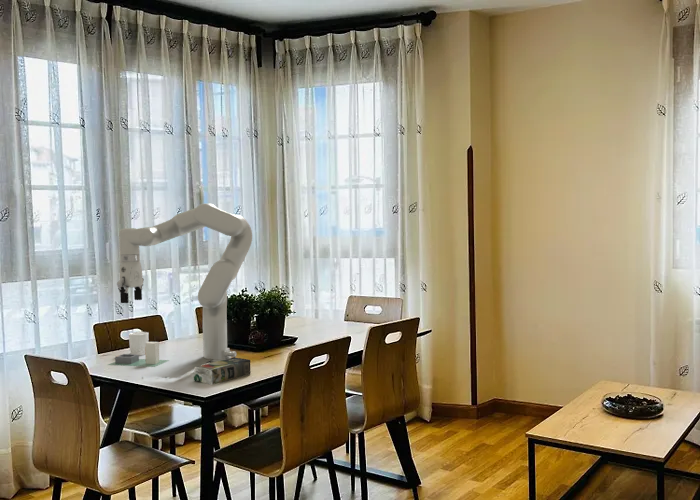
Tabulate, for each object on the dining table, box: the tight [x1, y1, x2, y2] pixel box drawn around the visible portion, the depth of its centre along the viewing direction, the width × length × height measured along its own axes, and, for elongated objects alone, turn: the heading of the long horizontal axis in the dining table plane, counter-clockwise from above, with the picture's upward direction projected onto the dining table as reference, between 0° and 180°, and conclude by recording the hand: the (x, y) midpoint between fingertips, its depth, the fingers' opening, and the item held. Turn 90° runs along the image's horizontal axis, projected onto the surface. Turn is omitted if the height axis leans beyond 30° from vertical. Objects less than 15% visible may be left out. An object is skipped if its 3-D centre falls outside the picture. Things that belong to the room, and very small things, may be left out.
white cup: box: [128, 331, 149, 356], centre depth 290 cm, size 8×8×10 cm
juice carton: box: [193, 357, 252, 385], centre depth 252 cm, size 20×10×6 cm, turn 143°
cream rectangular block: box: [145, 341, 160, 364], centre depth 271 cm, size 4×3×8 cm
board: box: [107, 353, 170, 368], centre depth 273 cm, size 20×12×4 cm, turn 77°
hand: (131, 301), depth 281 cm, fingers open, 9 cm apart
